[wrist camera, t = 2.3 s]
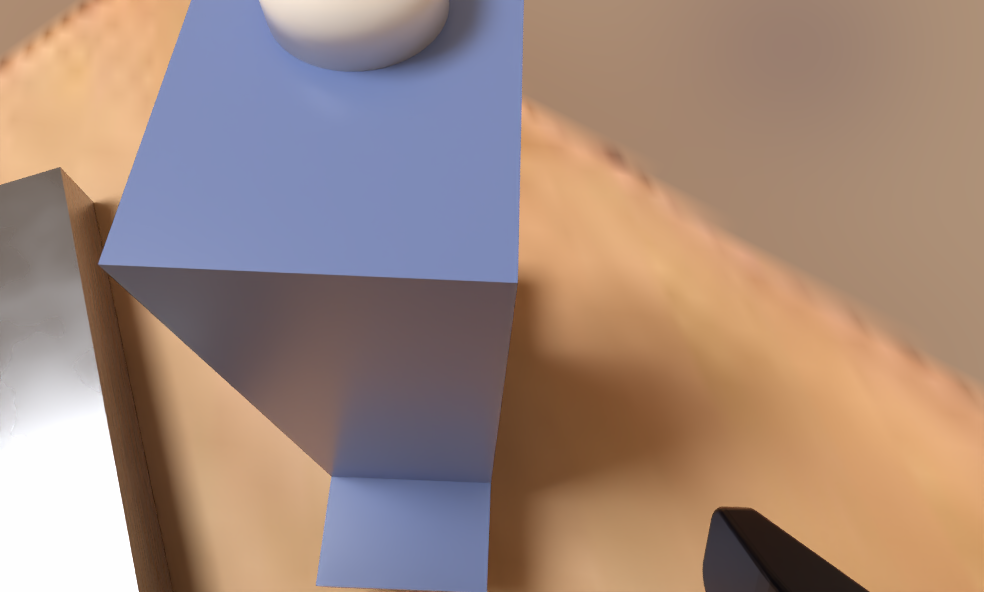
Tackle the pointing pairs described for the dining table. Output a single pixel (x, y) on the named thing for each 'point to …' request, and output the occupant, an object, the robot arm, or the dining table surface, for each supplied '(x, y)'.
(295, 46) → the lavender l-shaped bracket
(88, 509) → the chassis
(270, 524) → the dining table surface
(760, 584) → the robot arm
